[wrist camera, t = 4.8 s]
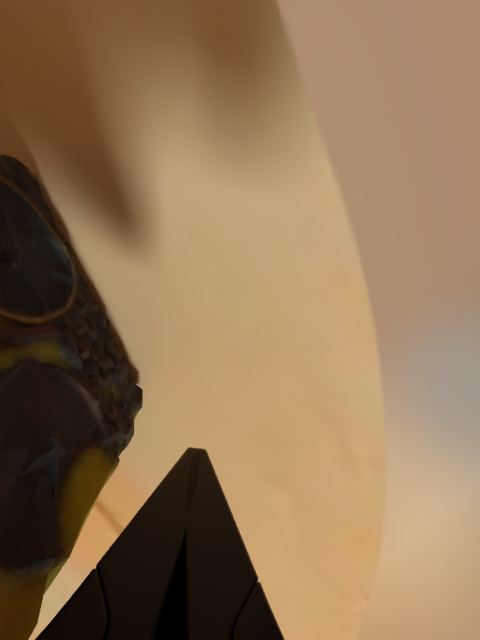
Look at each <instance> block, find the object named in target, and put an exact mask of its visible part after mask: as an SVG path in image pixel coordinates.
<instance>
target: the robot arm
mask: <svg viewBox="0 0 480 640" xmlns="http://www.w3.org/2000/svg"><path fill="white" fill-rule="evenodd" d="M35 640H284V637H283V635H282V633H281V630H280V628H279V626H278V624H277V621H276V619H275V617H274V614H273V612H272V610H271V608H270V605H269V603H268V600H267V598H266V595H265V593H264V591H263V588H262V586H261V583H260V582H258V576H257V574H256V571H255V569H254V566H253V564H252V562H251V559H250V557H249V554H248V552H247V549H246V547H245V544H244V542H243V539H242V537H241V535H240V532H239V530H238V527H237V525H236V522H235V520H234V517H233V515H232V512H231V510H230V507H229V505H228V503H227V500H226V498H225V495H224V493H223V490H222V488H221V485H220V483H219V480H218V478H217V476H216V473H215V471H214V468H213V466H212V463H211V461H210V458H209V456H208V453H207V451H206V450H205V449H200V448H191V447H190V448H188V449H187V450H186V451H185V452H184V454H183V455H182V456H181V457H180V459H179V460H178V461H177V463H176V464H175V465H174V466H173V468H172V469H171V470H170V471H169V473H168V474H167V475H166V477H165V478H164V479H163V480H162V482H161V483H160V484H159V486H158V487H157V488H156V489H155V491H154V492H153V493H152V495H151V496H150V497H149V498H148V500H147V501H146V502H145V503H144V505H143V506H142V507H141V509H140V510H139V511H138V512H137V514H136V515H135V516H134V518H133V519H132V520H131V521H130V523H129V524H128V525H127V527H126V528H125V529H124V530H123V532H122V533H121V534H120V536H119V537H118V538H117V539H116V541H115V542H114V543H113V544H112V546H111V547H110V548H109V550H108V551H107V552H106V553H105V555H104V556H103V557H102V559H101V560H100V561H99V562H98V564H97V565H96V569H93V570H92V571H91V572H90V574H89V575H88V576H87V577H86V579H85V580H84V581H83V583H82V584H81V585H80V586H79V588H78V589H77V590H76V591H75V593H74V594H73V595H72V596H71V598H70V599H69V600H68V601H67V602H66V604H65V605H64V606H63V607H62V609H61V610H60V611H59V612H58V613H57V615H56V616H55V617H54V618H53V620H52V621H51V622H50V623H49V624H48V626H47V627H46V628H45V629H44V630H43V631H42V632H41V633H40V634H39V636H38V637H37V638H36V639H35Z"/></svg>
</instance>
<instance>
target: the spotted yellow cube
mask: <svg viewBox="0 0 480 640" xmlns="http://www.w3.org/2000/svg"><path fill="white" fill-rule="evenodd" d="M109 324H110V323H109V322H108V320H107V319H106V317H105V316H104V314H103V312H102V310H101V309H100V307H99V305H98V304H97V302H96V300H95V298H94V297H93V295H92V293H91V292H90V290H89V288H88V286H87V284H86V282H85V280H84V278H83V276H82V274H81V272H80V271H79V269H78V267H77V265H76V263H75V261H74V259H73V257H72V252H71V248H70V244H69V243H68V242H67V241H66V240H65V239H64V238H63V236H62V235H61V234H60V233H59V231H58V230H57V228H56V225H55V222H54V219H53V217H52V214H51V212H50V209H49V207H48V206H47V204H46V202H45V200H44V199H43V197H42V193H41V190H40V186H39V183H38V179H37V178H36V177H35V176H34V175H33V174H32V173H31V171H30V170H29V169H28V168H27V167H26V166H24V165H23V164H22V163H21V162H20V161H18V160H17V159H16V158H13V157H9V156H5V155H1V156H0V640H28V639H29V637H30V636H31V634H32V632H33V630H34V628H35V627H36V625H37V622H38V618H39V613H40V608H41V604H42V599H43V595H44V593H45V592H46V590H47V589H48V588H49V586H50V585H51V583H52V582H53V580H54V579H55V577H56V576H57V574H58V573H59V571H60V570H61V569H62V567H63V566H64V564H65V563H66V561H67V560H68V558H69V557H70V554H71V552H72V550H73V548H74V545H75V543H76V541H77V539H78V536H79V534H80V532H81V530H82V527H83V525H84V523H85V521H86V519H87V517H88V515H89V513H90V511H91V509H92V508H93V506H94V504H95V502H96V500H97V498H98V496H99V494H100V492H101V490H102V488H103V487H104V485H105V484H106V482H107V481H108V479H109V478H110V476H111V475H112V474H113V472H114V471H115V469H116V467H117V465H118V463H119V461H120V460H119V457H118V456H119V455H120V454H121V452H122V451H123V450H124V449H125V448H126V447H127V446H128V444H129V442H130V440H131V438H132V437H133V435H134V419H135V417H136V415H137V413H138V412H139V410H140V409H141V408H142V401H143V400H142V389H141V388H140V387H138V386H137V385H136V384H135V382H134V379H133V377H132V375H131V373H130V371H129V367H128V363H127V360H126V359H125V357H124V356H123V355H122V354H121V353H120V351H119V350H118V347H117V344H116V342H115V340H114V338H113V336H112V335H111V333H110V332H109V331H108V327H109Z"/></svg>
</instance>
